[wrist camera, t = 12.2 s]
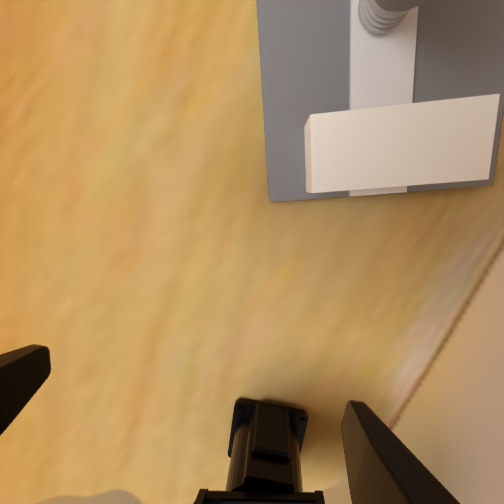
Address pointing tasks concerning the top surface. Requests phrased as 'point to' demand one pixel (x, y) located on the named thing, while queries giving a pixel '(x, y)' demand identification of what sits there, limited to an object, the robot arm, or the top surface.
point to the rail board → (380, 98)
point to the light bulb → (384, 13)
